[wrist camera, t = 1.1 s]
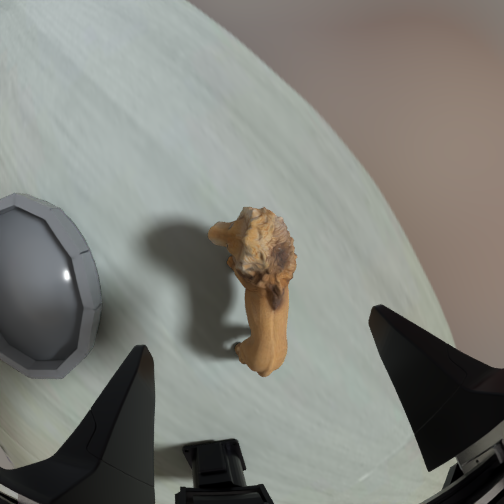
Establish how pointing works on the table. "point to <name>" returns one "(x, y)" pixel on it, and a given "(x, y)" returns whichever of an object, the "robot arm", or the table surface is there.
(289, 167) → the table surface
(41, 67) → the table surface
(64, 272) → the round dish
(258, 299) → the lion figurine
